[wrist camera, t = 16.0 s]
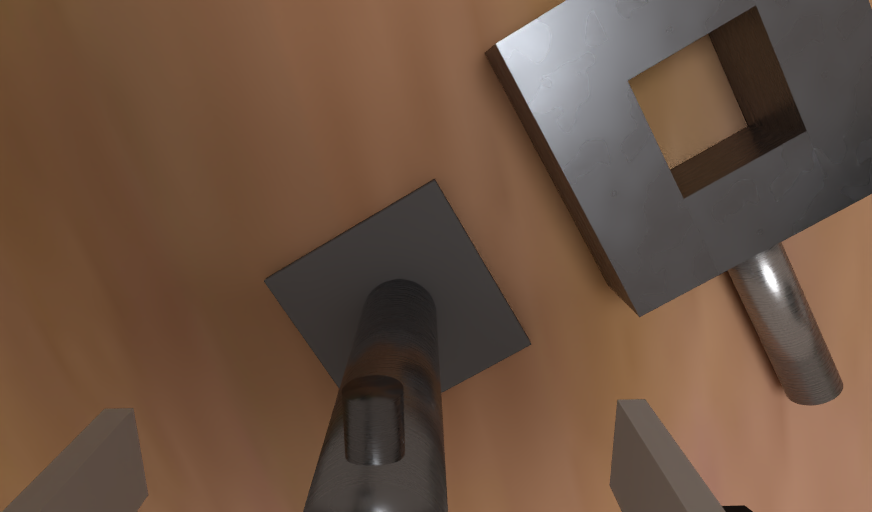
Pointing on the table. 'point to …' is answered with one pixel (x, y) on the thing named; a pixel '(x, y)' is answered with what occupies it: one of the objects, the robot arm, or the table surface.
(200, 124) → the table surface
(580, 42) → the block
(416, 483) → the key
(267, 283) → the mat
